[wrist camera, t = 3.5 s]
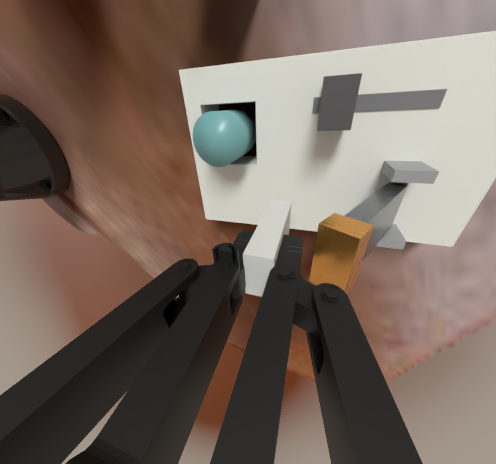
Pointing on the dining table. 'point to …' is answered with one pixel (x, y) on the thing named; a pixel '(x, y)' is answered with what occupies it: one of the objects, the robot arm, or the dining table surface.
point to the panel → (359, 135)
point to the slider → (338, 102)
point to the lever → (354, 236)
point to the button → (223, 136)
